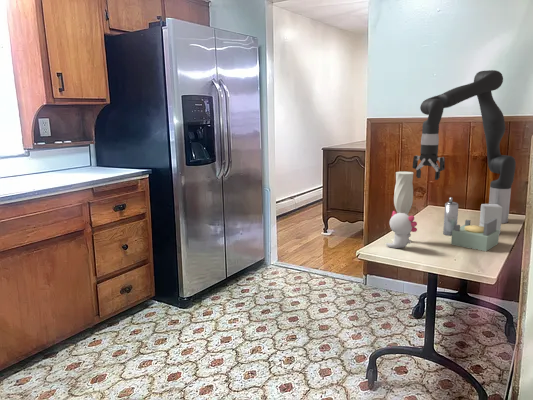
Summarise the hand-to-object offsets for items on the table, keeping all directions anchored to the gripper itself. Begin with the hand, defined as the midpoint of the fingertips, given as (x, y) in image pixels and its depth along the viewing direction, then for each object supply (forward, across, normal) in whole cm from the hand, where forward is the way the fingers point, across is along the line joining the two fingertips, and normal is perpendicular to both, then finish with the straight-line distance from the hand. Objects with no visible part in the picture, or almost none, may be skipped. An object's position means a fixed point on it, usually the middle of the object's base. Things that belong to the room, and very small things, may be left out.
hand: (427, 178), depth 205 cm
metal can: (+24, -12, 0) cm, 27 cm away
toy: (+25, -5, +34) cm, 42 cm away
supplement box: (+25, -24, -15) cm, 38 cm away
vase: (+25, 0, +23) cm, 34 cm away
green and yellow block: (+24, -26, +8) cm, 36 cm away
